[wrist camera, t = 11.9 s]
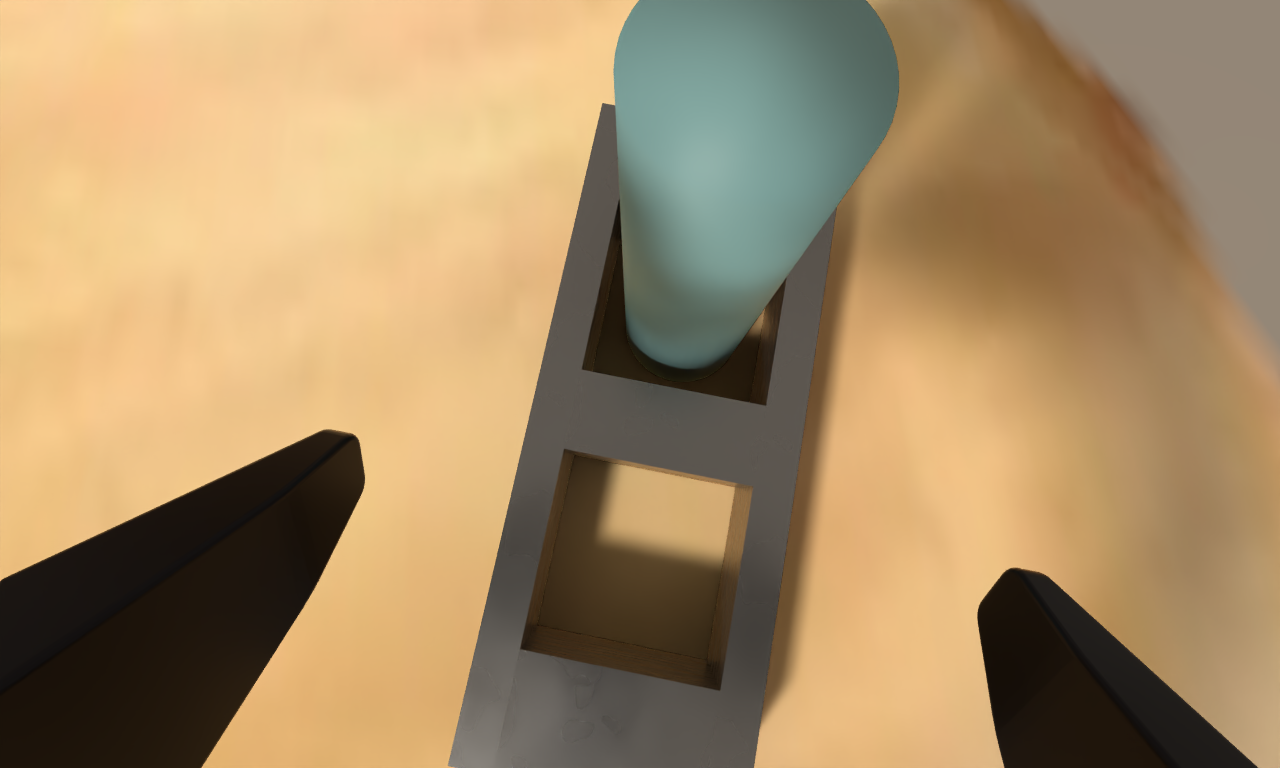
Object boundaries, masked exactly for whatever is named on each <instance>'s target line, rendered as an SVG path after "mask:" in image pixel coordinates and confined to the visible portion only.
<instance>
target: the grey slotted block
mask: <svg viewBox="0 0 1280 768" xmlns="http://www.w3.org/2000/svg"><path fill="white" fill-rule="evenodd" d="M836 208H837V207H836ZM836 208H835V210H834V211H833V212H832V214H831V215H830V217H829V218H828V219H827V221H826V222H825V224H824V225H823V226H822V228H821V229H820V231H819V232H818V234H817V235H816V236H815V238H814V239H813V241H812V242H811V243H810V245H809V246H808V248H807V249H806V250H805V252H804V253H803V255H802V256H801V257H800V259H799V260H798V262H797V263H796V264H795V266H794V267H793V269H792V270H791V272H790V273H789V274H788V276H787V277H786V279H785V280H784V281H783V283H782V284H781V286H780V287H779V288H778V290H777V291H776V293H775V294H774V295H773V297H772V298H771V300H770V301H769V303H768V304H767V305H766V307H765V313H764V319H763V325H762V331H761V337H760V343H759V349H758V355H757V361H756V367H755V373H754V379H753V385H752V391H751V397H750V403H749V402H744V401H739V400H734V399H729V398H723V397H718V396H713V395H708V394H703V393H698V392H693V391H688V390H683V389H678V388H673V387H667V386H662V385H657V384H652V383H647V382H642V381H637V380H632V379H627V378H622V377H617V376H611V375H606V374H601V373H596V372H592V370H593V365H594V361H595V356H596V352H597V347H598V342H599V338H600V333H601V329H602V324H603V319H604V315H605V310H606V305H607V301H608V296H609V292H610V287H611V282H612V278H613V273H614V269H615V264H616V259H617V255H618V250H619V245H620V241H621V239H622V233H621V213H620V192H619V172H618V151H617V131H616V110H615V105H610V104H604V103H602V107H601V112H600V116H599V120H598V125H597V129H596V133H595V138H594V142H593V146H592V150H591V155H590V159H589V163H588V168H587V172H586V176H585V180H584V185H583V189H582V193H581V198H580V202H579V206H578V210H577V215H576V219H575V223H574V228H573V232H572V236H571V240H570V245H569V249H568V253H567V258H566V262H565V266H564V270H563V275H562V279H561V283H560V288H559V292H558V296H557V300H556V305H555V309H554V313H553V318H552V322H551V326H550V330H549V335H548V339H547V343H546V348H545V352H544V356H543V360H542V365H541V369H540V373H539V378H538V382H537V386H536V391H535V395H534V399H533V403H532V408H531V412H530V416H529V421H528V425H527V429H526V433H525V438H524V442H523V446H522V451H521V455H520V459H519V463H518V468H517V472H516V476H515V481H514V485H513V489H512V493H511V498H510V502H509V506H508V511H507V515H506V519H505V523H504V528H503V532H502V536H501V541H500V545H499V549H498V553H497V558H496V562H495V566H494V571H493V575H492V579H491V583H490V588H489V592H488V596H487V601H486V605H485V609H484V613H483V618H482V622H481V626H480V631H479V635H478V639H477V644H476V648H475V652H474V656H473V661H472V665H471V669H470V674H469V678H468V682H467V686H466V691H465V695H464V699H463V704H462V708H461V712H460V716H459V721H458V725H457V729H456V734H455V738H454V742H453V746H452V751H451V755H450V759H449V764H448V766H451V767H455V768H754V763H755V756H756V749H757V743H758V736H759V729H760V722H761V716H762V709H763V702H764V695H765V689H766V682H767V675H768V668H769V661H770V655H771V648H772V641H773V634H774V628H775V621H776V614H777V607H778V601H779V594H780V587H781V580H782V574H783V567H784V560H785V553H786V546H787V540H788V533H789V526H790V519H791V513H792V506H793V499H794V492H795V486H796V479H797V472H798V465H799V458H800V452H801V445H802V438H803V431H804V425H805V418H806V411H807V404H808V398H809V391H810V384H811V377H812V370H813V364H814V357H815V350H816V343H817V337H818V330H819V323H820V316H821V310H822V303H823V296H824V289H825V283H826V276H827V269H828V262H829V255H830V249H831V242H832V235H833V228H834V222H835V215H836ZM574 455H577V456H582V457H587V458H592V459H597V460H602V461H607V462H612V463H617V464H622V465H627V466H632V467H637V468H642V469H647V470H652V471H657V472H662V473H667V474H672V475H677V476H682V477H687V478H692V479H697V480H702V481H707V482H712V483H717V484H722V485H727V486H732V487H736V488H735V494H734V500H733V506H732V512H731V518H730V524H729V530H728V536H727V542H726V548H725V554H724V560H723V566H722V572H721V578H720V584H719V590H718V596H717V602H716V608H715V614H714V620H713V626H712V632H711V638H710V644H709V650H708V656H707V660H704V659H699V658H694V657H689V656H684V655H679V654H675V653H670V652H665V651H660V650H655V649H650V648H646V647H641V646H636V645H631V644H626V643H622V642H617V641H612V640H607V639H602V638H597V637H593V636H588V635H583V634H578V633H573V632H568V631H564V630H559V629H554V628H549V627H544V626H540V625H537V624H538V619H539V614H540V610H541V605H542V601H543V596H544V591H545V587H546V582H547V578H548V573H549V568H550V564H551V559H552V554H553V550H554V545H555V541H556V536H557V531H558V527H559V522H560V518H561V513H562V508H563V504H564V499H565V495H566V490H567V485H568V481H569V476H570V471H571V467H572V462H573V458H574Z"/></svg>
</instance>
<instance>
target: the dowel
mask: <svg viewBox="0 0 1280 768" xmlns="http://www.w3.org/2000/svg"><path fill="white" fill-rule="evenodd" d="M614 89H615V110H616V131H617V151H618V172H619V192H620V213H621V233H622V254H623V275H624V295H625V316H626V334H627V339H628V343H629V345H630V348H631V350H632V352H633V354H634V355H635V357H636V358H637V360H638V361H639V362H640V363H641V364H642V366H644V367H645V368H646V369H647V370H648V371H650V372H651V373H653V374H655V375H657V376H659V377H661V378H664V379H667V380H671V381H676V382H690V381H696V380H699V379H702V378H705V377H707V376H709V375H711V374H713V373H714V372H716V371H717V370H718V369H720V368H721V367H722V366H723V365H724V364H725V363H726V361H727V360H728V359H729V357H730V356H731V355H732V353H733V352H734V350H735V349H736V348H737V346H738V345H739V343H740V342H741V341H742V339H743V338H744V336H745V335H746V334H747V332H748V331H749V329H750V328H751V326H752V325H753V324H754V322H755V321H756V319H757V318H758V317H759V315H760V314H761V312H762V311H763V310H764V308H765V307H766V305H767V304H768V303H769V301H770V300H771V298H772V297H773V295H774V294H775V293H776V291H777V290H778V288H779V287H780V286H781V284H782V283H783V281H784V280H785V279H786V277H787V276H788V274H789V273H790V272H791V270H792V269H793V267H794V266H795V264H796V263H797V262H798V260H799V259H800V257H801V256H802V255H803V253H804V252H805V250H806V249H807V248H808V246H809V245H810V243H811V242H812V241H813V239H814V238H815V236H816V235H817V234H818V232H819V231H820V229H821V228H822V226H823V225H824V224H825V222H826V221H827V219H828V218H829V217H830V215H831V214H832V212H833V211H834V210H835V208H836V207H837V205H838V204H839V203H840V201H841V200H842V198H843V197H844V195H845V194H846V193H847V191H848V190H849V188H850V187H851V186H852V184H853V183H854V181H855V180H856V179H857V177H858V176H859V174H860V173H861V172H862V170H863V169H864V167H865V166H866V164H867V163H868V162H869V160H870V159H871V157H872V156H873V155H874V153H875V152H876V150H877V149H878V147H879V146H880V144H881V143H882V141H883V140H884V138H885V136H886V134H887V132H888V130H889V128H890V125H891V123H892V120H893V117H894V114H895V110H896V107H897V100H898V93H899V71H898V65H897V59H896V54H895V51H894V48H893V45H892V41H891V39H890V37H889V35H888V32H887V30H886V28H885V26H884V24H883V23H882V21H881V20H880V18H879V16H878V15H877V13H876V12H875V10H874V9H873V8H872V7H871V6H870V4H869V3H868V2H867V1H866V0H639V1H638V3H637V4H636V5H635V6H634V8H633V9H632V11H631V13H630V14H629V16H628V18H627V20H626V21H625V23H624V26H623V28H622V31H621V33H620V36H619V39H618V43H617V47H616V52H615V59H614Z"/></svg>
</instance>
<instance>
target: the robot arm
mask: <svg viewBox="0 0 1280 768" xmlns="http://www.w3.org/2000/svg"><path fill="white" fill-rule="evenodd" d="M364 484H365V473H364V467H363V461H362V455H361V448H360V443H359V440H358V438H357V437H356V436H355V435H353V434H351V433H346V432H341V431H336V430H331V429H326V430H322V431H320V432H317V433H315V434H313V435H311V436H309V437H307V438H305V439H302V440H300V441H298V442H296V443H294V444H292V445H290V446H287V447H285V448H283V449H281V450H279V451H277V452H274V453H272V454H270V455H268V456H266V457H264V458H262V459H259V460H257V461H255V462H253V463H251V464H249V465H247V466H244V467H242V468H240V469H238V470H236V471H234V472H232V473H229V474H227V475H225V476H223V477H221V478H219V479H216V480H214V481H212V482H210V483H208V484H206V485H204V486H201V487H199V488H197V489H195V490H193V491H191V492H189V493H186V494H184V495H182V496H180V497H178V498H176V499H174V500H171V501H169V502H167V503H165V504H163V505H161V506H158V507H156V508H154V509H152V510H150V511H148V512H146V513H143V514H141V515H139V516H137V517H135V518H133V519H131V520H128V521H126V522H124V523H122V524H120V525H118V526H116V527H113V528H111V529H109V530H107V531H105V532H103V533H100V534H98V535H96V536H94V537H92V538H90V539H88V540H85V541H83V542H81V543H79V544H77V545H75V546H73V547H70V548H68V549H66V550H64V551H62V552H60V553H57V554H55V555H53V556H51V557H49V558H47V559H45V560H42V561H40V562H38V563H36V564H34V565H32V566H30V567H27V568H25V569H23V570H21V571H19V572H17V573H14V574H12V575H10V576H8V577H6V578H4V579H2V580H1V581H0V768H202V766H203V764H204V763H205V761H206V760H207V758H208V757H209V755H210V753H211V752H212V750H213V749H214V747H215V746H216V744H217V742H218V741H219V739H220V738H221V736H222V735H223V733H224V731H225V730H226V728H227V727H228V725H229V724H230V722H231V720H232V719H233V717H234V716H235V714H236V713H237V711H238V709H239V708H240V706H241V705H242V703H243V702H244V700H245V698H246V697H247V695H248V694H249V692H250V691H251V689H252V687H253V686H254V684H255V683H256V681H257V680H258V678H259V676H260V675H261V673H262V672H263V670H264V668H265V667H266V665H267V664H268V662H269V661H270V659H271V657H272V656H273V654H274V653H275V651H276V650H277V648H278V646H279V645H280V643H281V642H282V640H283V639H284V637H285V635H286V634H287V632H288V631H289V629H290V628H291V626H292V624H293V623H294V621H295V620H296V618H297V617H298V615H299V613H300V612H301V610H302V609H303V607H304V605H305V604H306V602H307V600H308V599H309V597H310V595H311V594H312V592H313V590H314V588H315V587H316V585H317V583H318V581H319V579H320V577H321V575H322V573H323V571H324V569H325V567H326V565H327V563H328V561H329V559H330V557H331V555H332V553H333V551H334V549H335V547H336V545H337V543H338V541H339V539H340V537H341V535H342V533H343V531H344V529H345V527H346V525H347V523H348V521H349V519H350V517H351V515H352V513H353V511H354V509H355V506H356V504H357V502H358V500H359V498H360V496H361V494H362V492H363V489H364ZM977 619H978V627H979V633H980V640H981V646H982V652H983V659H984V665H985V671H986V678H987V684H988V690H989V697H990V703H991V709H992V715H993V721H994V726H995V731H996V736H997V740H998V744H999V748H1000V752H1001V756H1002V760H1003V764H1004V768H1258V767H1257V766H1256V765H1255V764H1253V763H1252V762H1251V761H1250V760H1249V759H1248V758H1247V757H1246V756H1245V755H1244V754H1243V753H1241V752H1240V751H1239V750H1238V749H1237V748H1236V747H1235V746H1234V745H1233V744H1232V743H1230V742H1229V741H1228V740H1227V739H1226V738H1225V737H1224V736H1223V735H1222V734H1221V733H1219V732H1218V731H1217V730H1216V729H1215V728H1214V727H1213V726H1212V725H1211V724H1210V723H1208V722H1207V721H1206V720H1205V719H1204V718H1203V717H1202V716H1201V715H1200V714H1199V713H1197V712H1196V711H1195V710H1194V709H1193V708H1192V707H1191V706H1190V705H1189V704H1188V703H1186V702H1185V701H1184V700H1183V699H1182V698H1181V697H1180V696H1179V695H1178V694H1177V693H1175V692H1174V691H1173V690H1172V689H1171V688H1170V687H1169V686H1168V685H1167V684H1166V683H1164V682H1163V681H1162V680H1161V679H1160V678H1159V677H1158V676H1157V675H1156V674H1155V673H1153V672H1152V671H1151V670H1150V669H1149V668H1148V667H1147V666H1146V665H1145V664H1144V663H1142V662H1141V661H1140V660H1139V659H1138V658H1137V657H1136V656H1135V655H1134V654H1133V653H1131V652H1130V651H1129V650H1128V649H1127V648H1126V647H1125V646H1124V645H1123V644H1122V643H1120V642H1119V641H1118V640H1117V639H1116V638H1115V637H1114V636H1113V635H1112V634H1111V633H1109V632H1108V631H1107V630H1106V629H1105V628H1104V627H1103V626H1102V625H1101V624H1100V623H1098V622H1097V621H1096V620H1095V619H1094V618H1093V617H1092V616H1091V615H1090V614H1089V613H1088V612H1086V611H1085V610H1084V609H1083V608H1082V607H1081V606H1080V605H1079V604H1078V603H1077V602H1075V601H1074V600H1073V599H1072V598H1071V597H1070V596H1069V595H1068V594H1067V593H1066V592H1064V591H1063V590H1062V589H1061V588H1060V587H1059V586H1058V585H1057V584H1056V583H1055V582H1053V581H1052V580H1051V579H1050V578H1049V577H1048V576H1046V575H1044V574H1042V573H1040V572H1035V571H1030V570H1025V569H1020V568H1010V569H1008V570H1006V571H1005V572H1004V573H1003V574H1002V575H1001V577H1000V578H999V579H998V580H997V582H996V583H995V584H994V586H993V587H992V588H991V589H990V591H989V592H988V593H987V595H986V596H985V597H984V598H983V600H982V601H981V603H980V605H979V608H978V616H977Z"/></svg>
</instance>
